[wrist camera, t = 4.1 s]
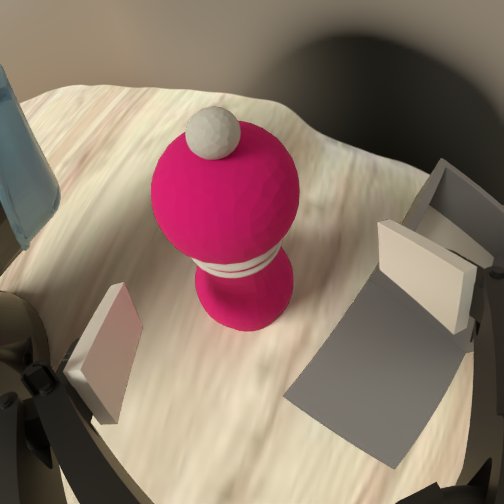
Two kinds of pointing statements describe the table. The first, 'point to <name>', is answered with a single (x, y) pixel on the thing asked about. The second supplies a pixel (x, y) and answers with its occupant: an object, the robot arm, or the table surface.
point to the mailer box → (401, 332)
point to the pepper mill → (230, 215)
